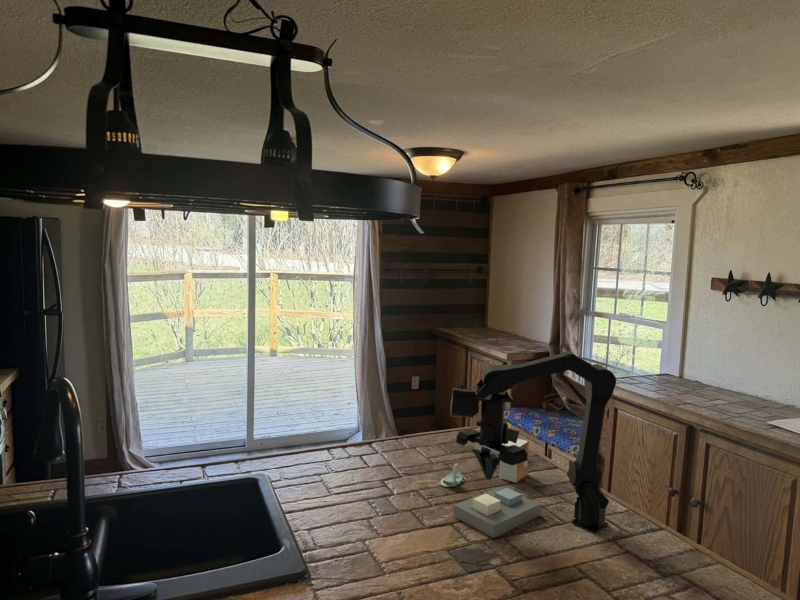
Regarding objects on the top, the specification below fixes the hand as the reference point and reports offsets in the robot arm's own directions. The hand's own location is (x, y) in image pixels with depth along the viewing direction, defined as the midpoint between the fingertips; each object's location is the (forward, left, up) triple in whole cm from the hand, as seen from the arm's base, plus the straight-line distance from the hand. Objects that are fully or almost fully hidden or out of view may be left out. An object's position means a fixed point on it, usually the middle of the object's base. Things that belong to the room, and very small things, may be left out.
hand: (488, 479), depth 137 cm
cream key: (0, +1, -8) cm, 8 cm away
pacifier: (+20, -8, -11) cm, 24 cm away
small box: (+13, -26, -11) cm, 31 cm away
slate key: (0, -8, -8) cm, 11 cm away
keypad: (0, -3, -10) cm, 11 cm away
